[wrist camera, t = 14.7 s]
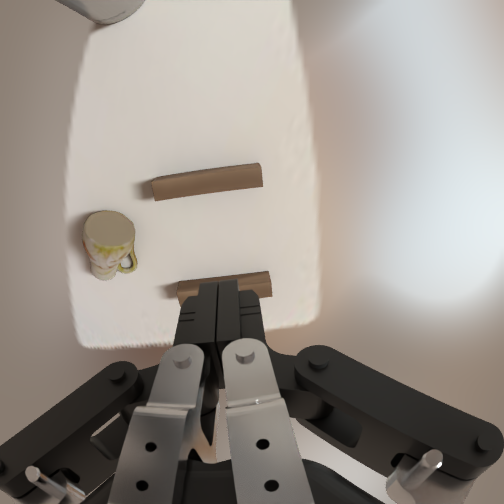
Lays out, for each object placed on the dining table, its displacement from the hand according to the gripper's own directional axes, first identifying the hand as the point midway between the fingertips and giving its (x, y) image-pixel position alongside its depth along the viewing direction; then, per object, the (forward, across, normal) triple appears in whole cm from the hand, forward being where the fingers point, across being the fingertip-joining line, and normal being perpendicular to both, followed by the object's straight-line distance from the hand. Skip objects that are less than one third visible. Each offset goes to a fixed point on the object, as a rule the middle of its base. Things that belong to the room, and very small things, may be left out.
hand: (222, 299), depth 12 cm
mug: (+27, +17, +7) cm, 33 cm away
